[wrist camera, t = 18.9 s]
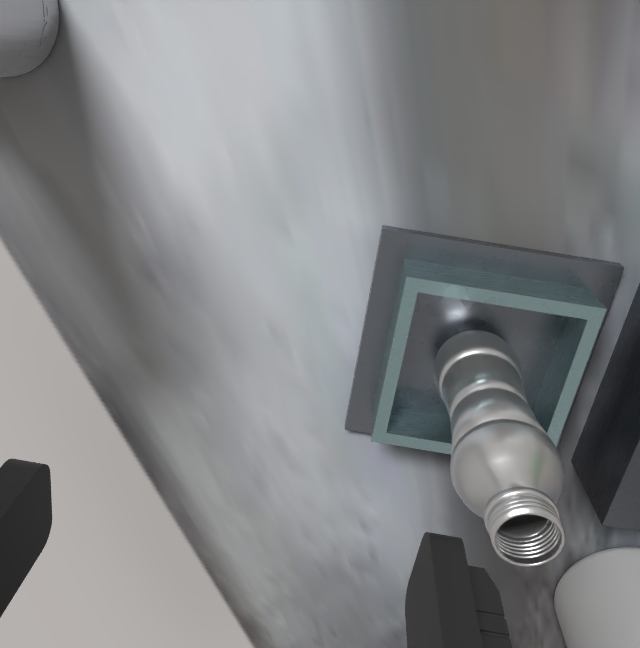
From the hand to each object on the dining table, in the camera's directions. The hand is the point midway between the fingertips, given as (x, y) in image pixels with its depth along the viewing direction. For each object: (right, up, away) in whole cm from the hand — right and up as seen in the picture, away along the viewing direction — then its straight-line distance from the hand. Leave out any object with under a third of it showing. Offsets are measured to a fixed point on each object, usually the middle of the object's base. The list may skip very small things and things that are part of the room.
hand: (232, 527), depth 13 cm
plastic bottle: (+14, +2, +36) cm, 39 cm away
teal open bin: (+18, +2, +37) cm, 41 cm away
